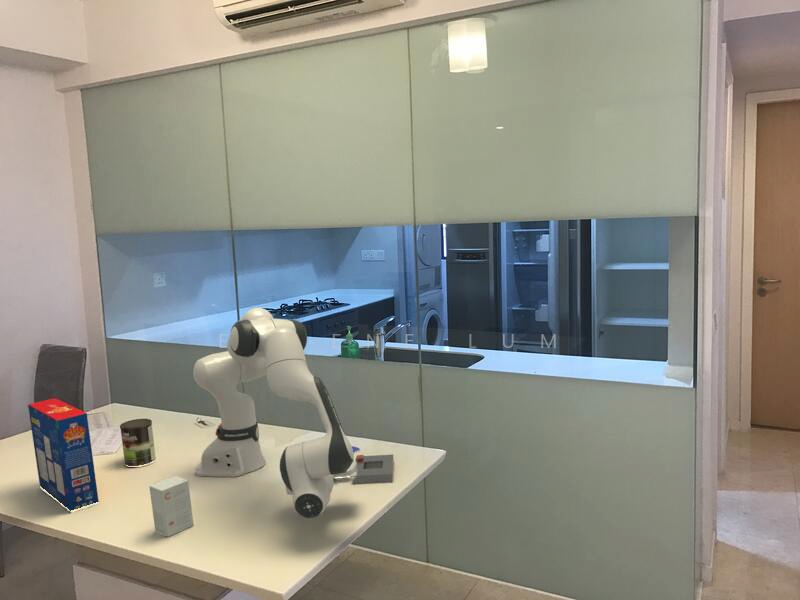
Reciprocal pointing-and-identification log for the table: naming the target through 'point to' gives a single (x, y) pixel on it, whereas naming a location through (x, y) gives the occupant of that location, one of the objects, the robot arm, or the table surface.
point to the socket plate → (374, 469)
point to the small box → (171, 505)
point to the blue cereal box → (63, 452)
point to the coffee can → (138, 442)
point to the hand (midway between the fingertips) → (324, 462)
